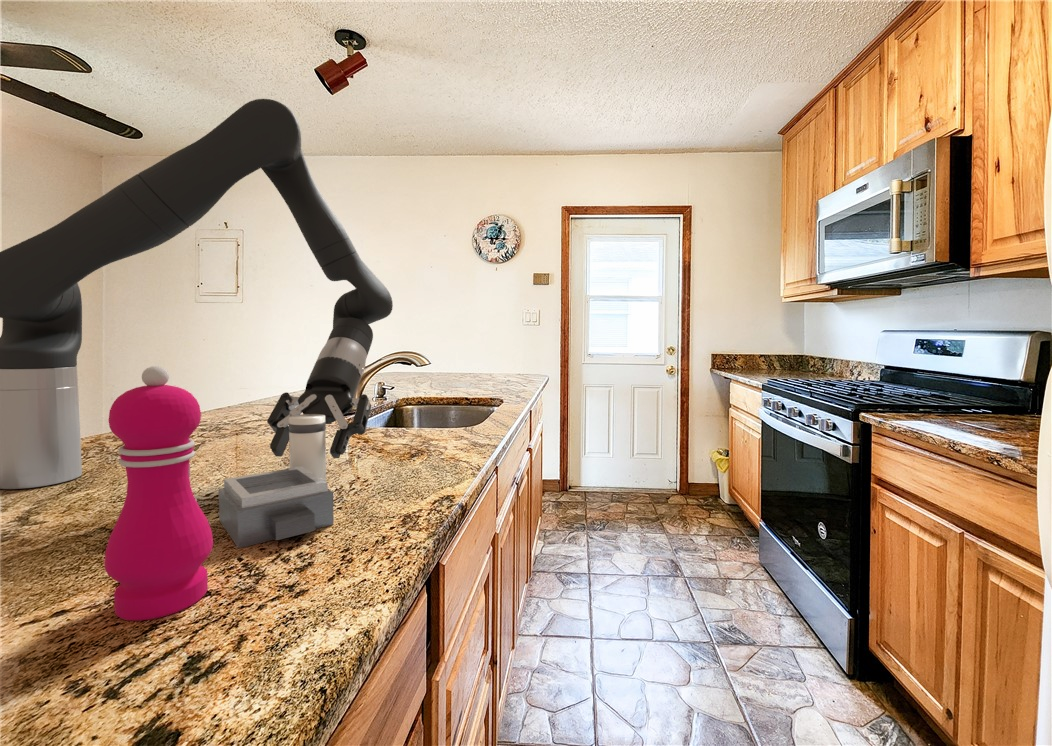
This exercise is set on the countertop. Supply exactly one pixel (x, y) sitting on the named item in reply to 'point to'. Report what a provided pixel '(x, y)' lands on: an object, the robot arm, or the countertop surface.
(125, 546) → the pepper mill
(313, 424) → the white banded cylinder
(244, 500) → the block
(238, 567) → the countertop surface
